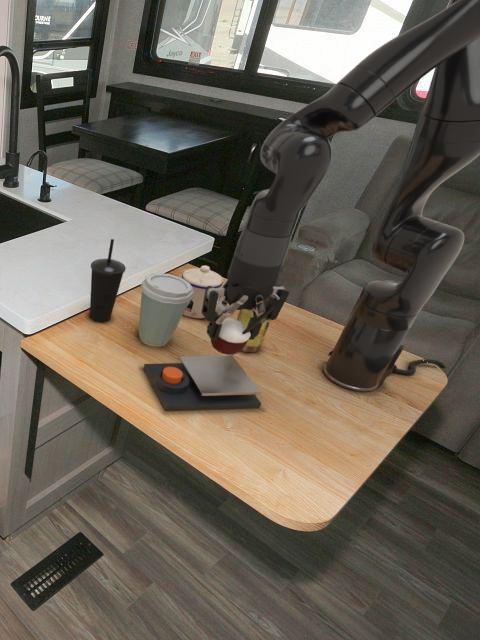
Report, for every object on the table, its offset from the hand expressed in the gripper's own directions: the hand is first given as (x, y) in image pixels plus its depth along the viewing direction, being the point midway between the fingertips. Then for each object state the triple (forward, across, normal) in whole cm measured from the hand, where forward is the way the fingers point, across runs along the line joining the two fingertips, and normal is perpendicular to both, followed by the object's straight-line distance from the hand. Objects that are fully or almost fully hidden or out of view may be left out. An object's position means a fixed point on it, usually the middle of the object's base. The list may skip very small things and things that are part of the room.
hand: (230, 337), depth 96 cm
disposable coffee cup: (+12, -6, +17) cm, 22 cm away
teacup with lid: (+12, +8, +28) cm, 32 cm away
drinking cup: (+12, -16, +27) cm, 34 cm away
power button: (+10, -9, 0) cm, 13 cm away
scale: (+12, -3, 0) cm, 13 cm away
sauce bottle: (+12, +13, +14) cm, 23 cm away
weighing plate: (+9, 0, 0) cm, 9 cm away
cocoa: (+3, 0, 0) cm, 3 cm away
